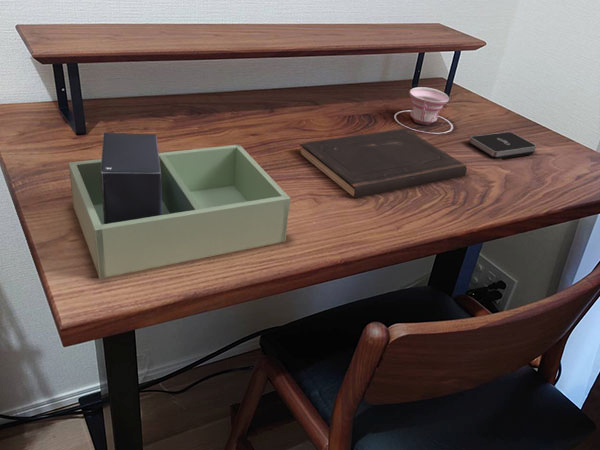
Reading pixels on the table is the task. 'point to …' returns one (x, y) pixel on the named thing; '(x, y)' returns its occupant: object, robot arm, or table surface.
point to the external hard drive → (502, 145)
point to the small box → (130, 177)
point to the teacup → (426, 106)
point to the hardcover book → (381, 162)
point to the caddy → (184, 211)
